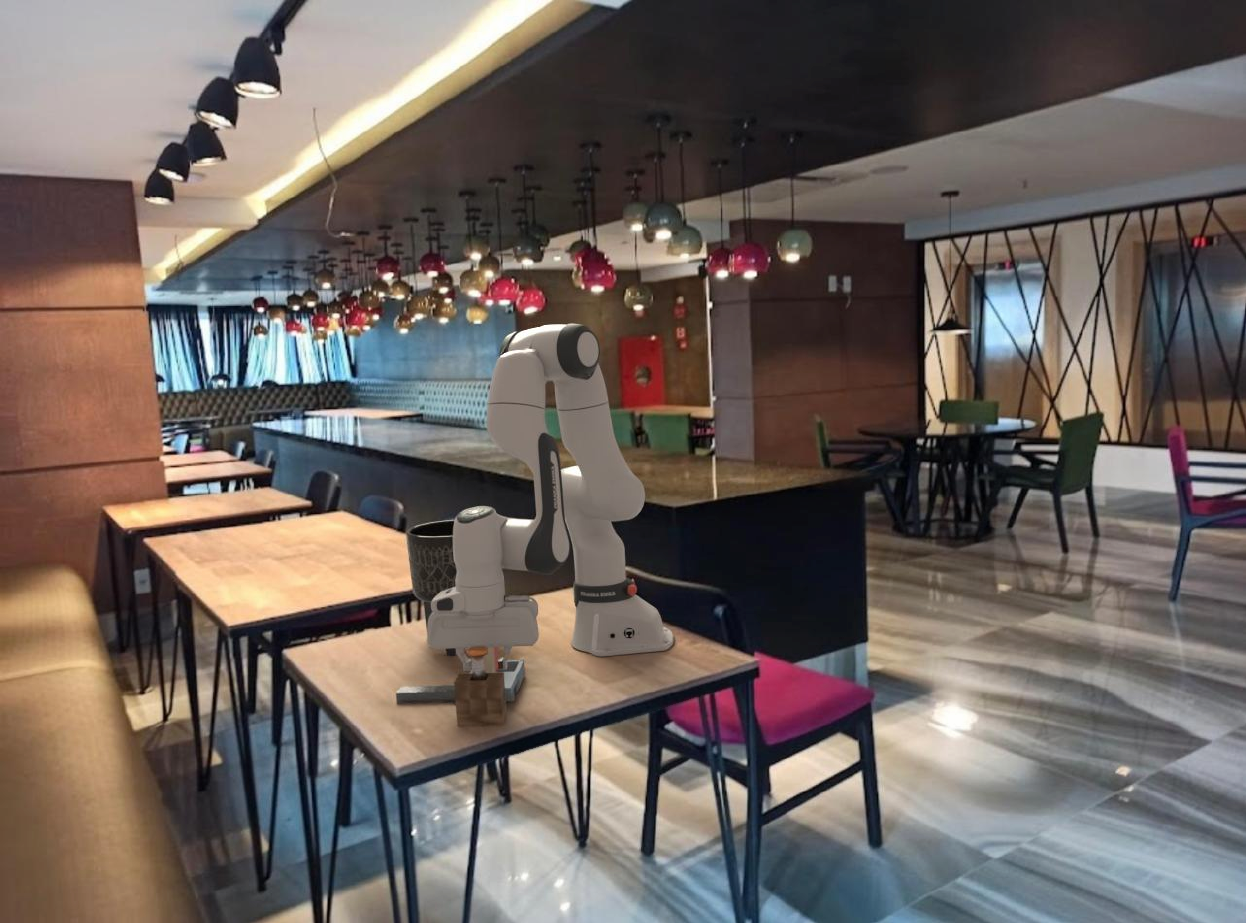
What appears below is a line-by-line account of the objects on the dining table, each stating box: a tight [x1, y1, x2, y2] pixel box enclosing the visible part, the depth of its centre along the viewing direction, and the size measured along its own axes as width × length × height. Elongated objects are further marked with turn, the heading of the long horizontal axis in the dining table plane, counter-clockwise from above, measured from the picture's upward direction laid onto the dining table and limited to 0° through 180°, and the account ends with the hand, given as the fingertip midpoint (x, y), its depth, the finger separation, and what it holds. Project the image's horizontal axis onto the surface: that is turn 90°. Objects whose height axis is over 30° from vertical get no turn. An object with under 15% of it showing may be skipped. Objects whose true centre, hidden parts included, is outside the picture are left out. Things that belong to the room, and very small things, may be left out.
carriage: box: [467, 647, 526, 702], centre depth 172 cm, size 10×16×11 cm, turn 178°
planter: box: [405, 519, 457, 656], centre depth 201 cm, size 20×20×26 cm
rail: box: [395, 685, 516, 704], centre depth 170 cm, size 22×3×2 cm, turn 88°
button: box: [466, 646, 488, 681], centre depth 158 cm, size 4×4×7 cm
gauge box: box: [453, 672, 507, 727], centre depth 159 cm, size 8×4×8 cm, turn 88°
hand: (485, 669), depth 166 cm, fingers open, 5 cm apart
